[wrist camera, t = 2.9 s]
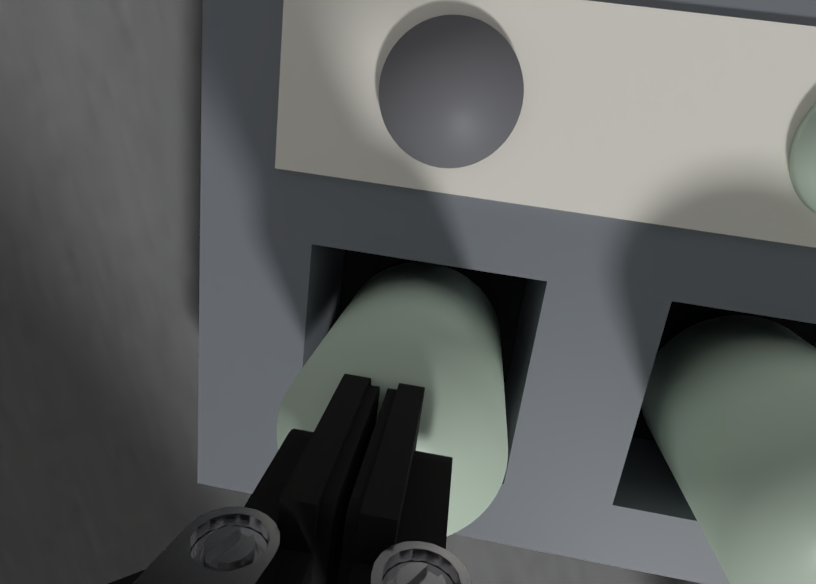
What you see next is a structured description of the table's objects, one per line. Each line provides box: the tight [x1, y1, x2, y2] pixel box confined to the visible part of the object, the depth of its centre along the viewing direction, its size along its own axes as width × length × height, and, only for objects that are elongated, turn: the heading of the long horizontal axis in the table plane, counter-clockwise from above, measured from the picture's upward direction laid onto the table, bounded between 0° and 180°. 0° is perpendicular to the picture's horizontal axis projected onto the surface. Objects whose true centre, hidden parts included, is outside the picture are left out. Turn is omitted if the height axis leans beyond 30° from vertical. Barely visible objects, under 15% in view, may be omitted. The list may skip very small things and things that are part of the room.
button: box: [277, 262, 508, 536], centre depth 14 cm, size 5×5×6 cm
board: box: [197, 0, 816, 584], centre depth 15 cm, size 30×15×4 cm, turn 83°
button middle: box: [641, 315, 816, 584], centre depth 13 cm, size 5×5×6 cm
